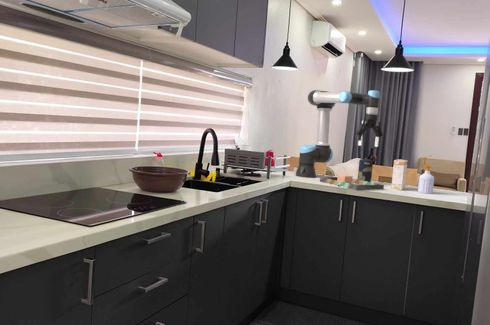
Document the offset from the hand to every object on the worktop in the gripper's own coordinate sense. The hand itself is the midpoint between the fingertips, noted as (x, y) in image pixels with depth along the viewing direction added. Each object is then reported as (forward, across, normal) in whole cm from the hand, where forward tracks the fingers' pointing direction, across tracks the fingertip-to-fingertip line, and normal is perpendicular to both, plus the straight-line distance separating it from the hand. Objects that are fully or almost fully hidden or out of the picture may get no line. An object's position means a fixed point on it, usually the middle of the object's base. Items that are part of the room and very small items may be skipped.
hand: (368, 146), depth 288 cm
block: (+27, -10, +8) cm, 30 cm away
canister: (+28, +12, +16) cm, 34 cm away
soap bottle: (+27, +31, -23) cm, 47 cm away
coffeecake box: (+27, +22, -8) cm, 36 cm away
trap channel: (+27, -9, +2) cm, 29 cm away
